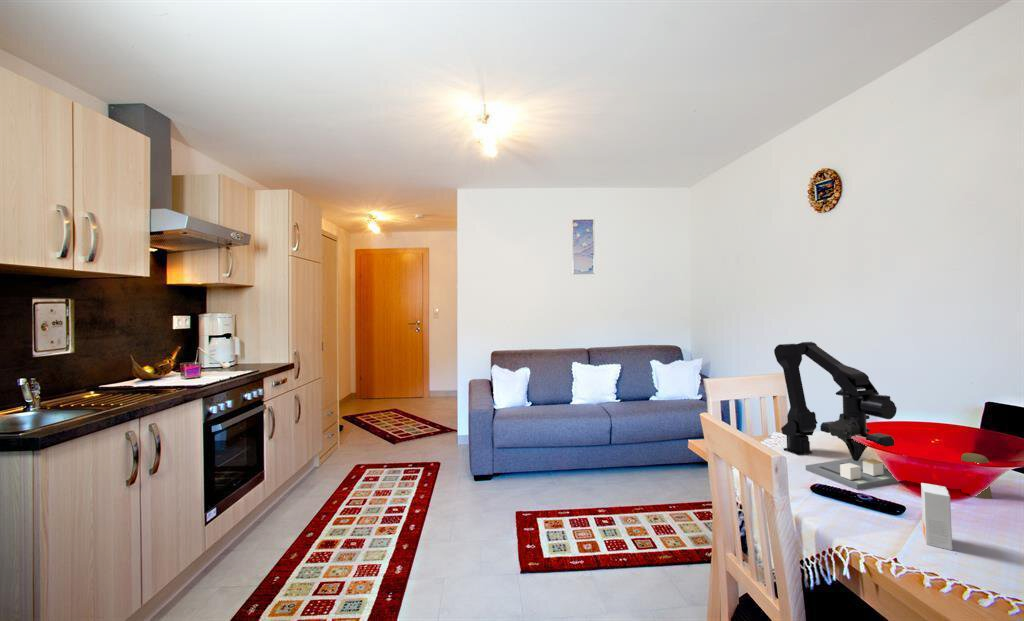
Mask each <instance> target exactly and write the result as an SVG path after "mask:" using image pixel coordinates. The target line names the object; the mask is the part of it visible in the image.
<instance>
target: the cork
mask: <svg viewBox="0 0 1024 621" xmlns="http://www.w3.org/2000/svg"><path fill="white" fill-rule="evenodd" d="M960 458H961V462H962V461H965V462H976V463H989V464H990V461H989V459H988V458H987V457H986V456H985V455H982V454H978V453H974V452H973V453H972V452H965V453H963V454H962V455H961V457H960ZM974 498H977V499H986V500H987V499H988V500H989V499H992V498H993V495H992V490H991V486H989V487H988V488H987V489H985V490H984V491H982V492H981V493H980V494H978V495H977V496H975V497H974Z"/></svg>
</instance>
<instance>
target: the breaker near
mask: <svg viewBox="0 0 1024 621" xmlns="http://www.w3.org/2000/svg"><path fill="white" fill-rule="evenodd" d="M840 476H841V477H844V478H847V479H850V480H853V479H859V478H861V468H860V466H858V465H855V464H852V463H847V464H840Z"/></svg>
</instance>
